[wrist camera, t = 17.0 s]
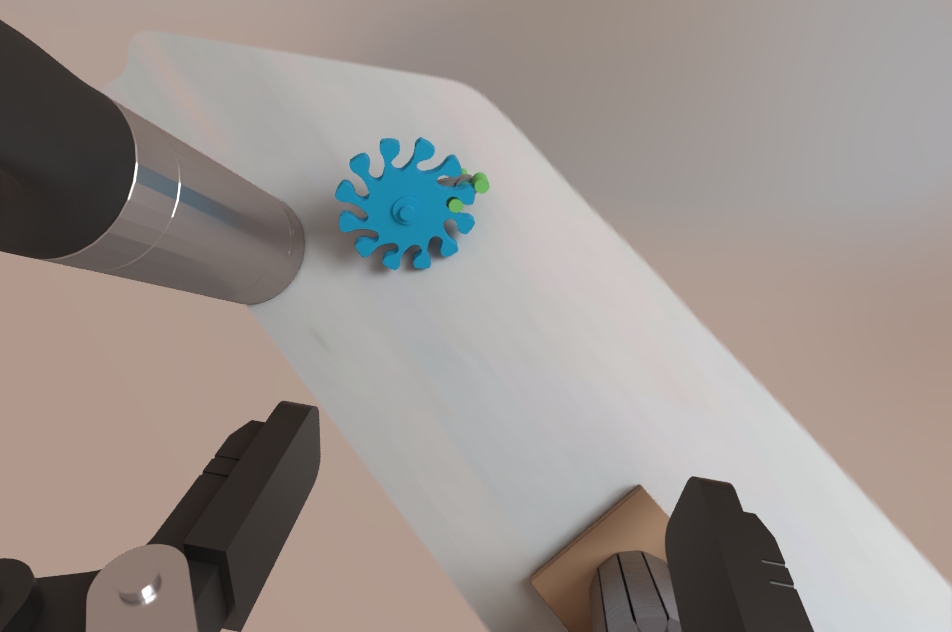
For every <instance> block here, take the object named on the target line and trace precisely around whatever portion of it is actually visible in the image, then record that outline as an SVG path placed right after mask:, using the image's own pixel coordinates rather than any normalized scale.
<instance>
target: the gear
mask: <svg viewBox="0 0 952 632" xmlns="http://www.w3.org/2000/svg"><path fill="white" fill-rule="evenodd" d="M399 151H400V144H399V141H398V140H396V139H391V138H386V139H381V141H380V152H381V154H382V156H383V158H384V162H385V167H384V171H383V174H382V176H380V177H378V178H374V177H372V176H371V175H370V174H369V172H368V170H369V165H370V159H369V157H368V155H367V154H366V153H361V154H358V155H356V156H354V157H353V158H352V159H350V163H349V164H350V168H351V170H352V171H353V172H354V173H356V174H357V175H359V176H360V177H361V178H362V179H363V180H364V182H365V184H366V186H367V188H368V191H369V194H368V195H367V196H364V197H362V196H359V195H357V194H356V192H355V189H354V186H353V184H352V183H351V182H350V181H348V180H343V181H341V183H340V184H339V186H338V188H337V190H336V194H335V197H336V199H338V200H339V201H341V202H349V203H353V204H355V205H357V206H359V207H360V208H361V209H363V210H364V211H365V212H366V213H367V215H368V216H367V217H366V218H364V219H360V218H358V217H356V216H355V215H354V214H353V213H352V212H350V211H342V212H341V214H340V219H339V225H340V230H341V231H342V232H350V231H352V230H355V229H369V230H373V231H376V232H377V233H378V234H379V235H378V236H377V237H376V238H370V237H365V236H362V237H359V238H357V240H356V244H355V246H356V249H357V251H358V252H359V253H360V254H361V256H362V257H367V256H369V255H370V254H371V253H372V252H373V251H374V250H375V249H376V248H377V247H379V246H381V245H384V244H387V243H395V244H397V245H398V247H397V248H396V249H394V250H390V251H387V252H385V253H384V255H383V264H384V265H385V266H386V267H388V268H390V269H393V270H396V269H398V268H399V266H400V260H401V256H402V254H403V253H404V252H405V251H406V250H407V249H408V248H409V247H410V246H412V245H418V246H420V247H421V249H420V250H419V251H418V252H416V253H415V255H414V257H413V261H414V267H415V268H429V267H430V265H431V259H430V255H429V253H428V251H427V247H428V243H429V240H430V239H431V238H432V237H434V236H439V237H441V238H442V240H441V243H440V249H441V253H442V255H443V256H444V257H447V256H450V255H452V254H454V253H456V252H457V251H458V247H457V242H456V241H455V240H454V239H453V238H451V237H450V236H449V235H448V234H447V233H446V231H445V229H444V226H443V223H444V221H445V220H447V219H453V220H455V221H456V223H457V227H458V230H459V231H460V232H461V233H463V234H467V233H468V232H469V231H470V230H471V229H472V227H473V225H474V224H475V222H474V218H473V216H472V215H470V214H468V213H460V211H461V210H462V208H463V204H466V205H471V204H473V202H474V199H475V194H476V192H478V193H485V192H487V191H488V189H489V183H488V180H487V178H486V175H485V174H483V173H476V174H475V175H474V176H471V175H469V174H467V171H466V170H465V169H461V166H460V163H459V161H458V159H457V158H456V156H455V155H449V156H448V157H446V159H445V160H444V161H443V162H442V164H440V165H439V166H438V167H436V168H434V169H431V170H426V171H421V170H419V169H418V168H417V167H416V166H417V164H418V163H419V162H420V161H423V160H427V159H430V158H431V157H432V156H433V155H434V152H435V149H434V146H433V145H432V144H431V143H430V142H429V141H427V140H425V139H423V138H421V137H420V138H418V139H417V141H416V142H415V149H414V153H413V156H412V158H411V159H410V161H409V162H408V163H407V164H406V165H405V166H403V167H402V168H395V167H394V166H393V165H392V164H391V162H392V160H393V159H394V158H395V157H396V156H397V155H398V154H399ZM442 175H446V176H450V177H449V178H445V179H440V180H437V179H438V177H440V176H442ZM446 202H448V204H447V203H446Z"/></svg>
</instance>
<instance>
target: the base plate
mask: <svg viewBox="0 0 952 632" xmlns="http://www.w3.org/2000/svg"><path fill="white" fill-rule="evenodd" d="M669 519H670V518H669V517H668V515H667V514H666V513H665V512H664V511H663V510H662V509H661V507H660V506H659V505H658V504H657V503H656V502H655V501H654V500H653V498H652V497H651V496H650V495H649V494H648V493H647V492H646V490H645V489H644V488H643V487H642V486H641V485H639V486H638V487H636V488H635V489H634V490H633V491H632V492H630V493H629V494H628V495H627V496H626V497H625V498H623V499H622V500H621V501H620V502H619V503H617V504H616V505H615V506H614V507H613V508H612V509H610V510H609V511H608V512H607V513H606V514H604V515H603V516H602V517H601V518H600V519H599V520H597V521H596V522H595V523H594V524H593V525H591V526H590V527H589V528H588V529H587V530H586V531H584V532H583V533H582V534H581V535H580V536H578V537H577V538H576V539H575V540H574V541H573V542H571V543H570V544H569V545H568V546H567V547H565V548H564V549H563V550H562V551H561V552H560V553H558V554H557V555H556V556H555V557H554V558H552V559H551V560H550V561H549V562H548V563H547V564H545V565H544V566H543V567H542V568H541V569H539V570H538V571H537V572H536V573H535V574H533V575H532V577H531V584H532V585H533V586H534V587H535V589H536V590H537V591H538V593H539V594H540V595H541V596H542V598H543V599H544V600H545V601H546V603H547V604H548V605H549V606H550V608H551V609H552V610H553V611H554V613H555V614H556V615H557V616H558V618H559V619H560V620H561V622H562V623H563V624H564V625H565V627H566V628H567V629H568V630H569V632H593V631H592V619H591V607H590V595H589V590H590V589H589V587H590V585H591V582H592V580H593V577H594V574H595V572H596V569H597V568H599V565H600V564H601V563H603V562H604V561H605V560H607V559H608V558H609V557H611V556H612V555H613V554H615V553H616V554H617V555H618V552H624V551H636V550H640V551H641V554H642V551H645V552H647V553H649V554H651V555H653V556H655V557H658V558H660V559H662V560H664V561H665V562H666V563H667V558H666V553H665V533H666V527H667V524H668V521H669ZM618 556H619V555H618ZM667 564H668V563H667Z"/></svg>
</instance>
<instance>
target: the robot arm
mask: <svg viewBox="0 0 952 632" xmlns="http://www.w3.org/2000/svg"><path fill="white" fill-rule="evenodd" d="M0 251H2V252H6V253H11V254H15V255H20V256H25V257H30V258H34V259H39V260H44V261H48V262H53V263H57V264H63V265H67V266H71V267H76V268H81V269H86V270H91V271H95V272H100V273H104V274H109V275H114V276H118V277H123V278H128V279H132V280H137V281H141V282H146V283H150V284H155V285H159V286H164V287H169V288H173V289H177V290H182V291H187V292H191V293H196V294H200V295H204V296H208V297H213V298H217V299H222V300H226V301H231V302H236V303H241V304H255V303H262V302H264V301H267V300H269V299H272V298H273V297H275V296H276V295H278V294H279V293H281V292H282V291H283V290H284V289H285V288H286V287H287V286H288V285H289V284H290V283H291V282H292V280H293V279H294V277H295V276H296V274H297V272H298V270H299V268H300V265H301V263H302V258H303V254H304V236H303V231H302V227H301V225H300V222H299V220H298V218H297V216H296V215H295V214H294V212H293V211H292V210H291V209H290V208H289V207H288V206H287V205H286V204H285V203H283V202H282V201H280V200H279V199H277V198H275V197H274V196H272V195H270V194H269V193H267V192H265V191H264V190H262V189H260V188H259V187H257V186H256V185H254V184H252V183H251V182H249V181H247V180H246V179H244V178H242V177H241V176H239V175H237V174H236V173H234V172H232V171H231V170H229V169H227V168H226V167H224V166H222V165H221V164H219V163H217V162H216V161H214V160H212V159H211V158H209V157H208V156H206V155H204V154H203V153H201V152H199V151H198V150H196V149H194V148H193V147H191V146H189V145H188V144H186V143H184V142H183V141H181V140H179V139H178V138H176V137H174V136H173V135H171V134H169V133H168V132H166V131H164V130H163V129H161V128H159V127H158V126H156V125H154V124H153V123H151V122H149V121H148V120H146V119H144V118H142V117H141V116H139V115H137V114H136V113H134V112H132V111H131V110H129V109H127V108H126V107H124V106H122V105H121V104H119V103H117V102H116V101H114V100H112V99H111V98H109V97H107V96H106V95H104V94H102V93H101V92H99V91H98V90H96V89H94V88H92V87H91V86H89V85H88V84H86V83H85V82H83V81H82V80H80V79H79V78H78V77H77V76H75V75H74V74H72V73H71V72H70V71H69V70H68V69H66V68H65V67H64V66H63V65H61V64H60V63H59V62H58V61H56V60H55V59H54V58H53V57H51V56H50V55H49V54H48V53H46V52H45V51H44V50H43V49H41V48H40V47H39V46H37V45H36V44H35V43H34V42H32V41H31V40H29V39H28V38H27V37H25V36H24V35H22V34H21V33H20V32H18V31H16V30H15V29H14V28H12V27H11V26H9V25H7V24H6V23H4V22H3V21H1V20H0ZM319 465H320V427H319V410H318V408H317V407H316V406H310V405H305V404H299V403H293V402H288V401H281V402H280V403H279V404H278V405H277V406H276V408H275V409H274V411H273V412H272V413H271V415H270V416H269V418H268V419H267V421H266V422H259V421H254V420H251V421H250V422H248V423H247V424H245V425H244V426H243V427H241V428H240V429H238V430H237V431H235V432H234V433H232V434H231V435H230V436H229V437H228V438H227V440H226V441H225V442H224V444H223V445H222V446H221V448H220V449H219V450H218V452H217V453H216V454H215V458H214V459H212V460H211V461H210V462H209V464H208V465H207V466H206V468H205V469H204V470H203V474H202V475H200V476H199V477H198V478H197V480H196V481H195V482H194V484H193V485H192V486H191V488H190V489H189V490H188V492H187V493H186V494H185V496H184V497H183V498H182V500H181V501H180V502H179V504H178V505H177V506H176V508H175V509H174V510H173V512H172V513H171V514H170V516H169V517H168V518H167V520H166V521H165V522H164V524H163V525H162V526H161V528H160V529H159V530H158V532H157V533H156V534H155V536H154V537H153V538H152V539H151V540H150V541H149V542H148V543H147V544H146V545H145V546H141V547H137V548H134V549H132V550H129V551H127V552H125V553H123V554H121V555H120V556H118V557H117V558H115V559H114V560H112V561H111V562H110V563H108V564H107V565H106V566H105V567H104V568H103V569H101V570H98V571H92V572H86V573H77V574H69V575H60V576H52V577H42V578H35V577H34V575H33V573H32V571H31V569H30V567H29V566H28V565H26V564H25V563H23V562H21V561H19V560H15V559H7V558H3V559H0V632H220V631H221V629H222V628H223V629H228V630H233V631H238V632H241V630H242V628H243V626H244V624H245V622H246V620H247V618H248V616H249V614H250V612H251V610H252V608H253V606H254V604H255V602H256V600H257V598H258V596H259V594H260V592H261V590H262V588H263V586H264V584H265V582H266V580H267V578H268V576H269V574H270V572H271V570H272V568H273V566H274V564H275V562H276V560H277V558H278V556H279V554H280V552H281V550H282V548H283V546H284V544H285V542H286V540H287V538H288V536H289V534H290V532H291V530H292V528H293V526H294V524H295V522H296V520H297V518H298V516H299V514H300V511H301V510H302V508H303V506H304V504H305V501H306V500H307V498H308V496H309V493H310V492H311V490H312V487H313V485H314V483H315V480H316V477H317V474H318V470H319ZM665 553H666V558H667V563H668V568H669V572H670V577H671V582H672V587H673V592H674V597H675V601H676V606H677V611H678V616H679V621H680V625H681V630H682V632H814V630H813V628H812V626H811V623H810V621H809V618H808V616H807V614H806V611H805V609H804V607H803V604H802V602H801V599H800V597H799V595H798V592H797V590H796V589H794V583H793V580H792V578H791V575H790V573H789V571H788V568H785V561H784V559H783V556H782V554H781V552H780V549H779V547H778V544H777V542H776V540H775V537H774V536H773V535H772V534H771V533H770V531H769V530H768V529H767V528H766V526H765V525H764V524H763V523H762V522H761V520H760V519H759V518H758V517H757V515H756V514H753V513H748V512H743V509H742V507H741V504H740V501H739V499H738V496H737V493H736V491H735V489H734V487H733V485H731V484H730V483H728V482H722V481H717V480H711V479H705V478H700V477H694V476H693V477H691V478H689V480H688V481H687V483H686V485H685V487H684V490H683V492H682V494H681V496H680V498H679V500H678V502H677V504H676V506H675V509H674V511H673V513H672V515H671V517H670V519H669V521H668V524H667V527H666V533H665Z"/></svg>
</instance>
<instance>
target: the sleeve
mask: <svg viewBox="0 0 952 632" xmlns="http://www.w3.org/2000/svg"><path fill="white" fill-rule="evenodd" d="M618 555H619V556H618ZM618 555H617V554H616V553H615V554H613V555H612V556H611V557H609V558H608V559H607V560H605V561H604V562H603V563H601V564H600V565H599V568H597V569H596V572H595V574H594V577H593V580H592V582H591V585H590V587H589V589H590V590H589V595H590V607H591V619H592V631H593V632H682V630H681V625H680V621H679V616H678V611H677V606H676V601H675V597H674V592H673V587H672V582H671V577H670V572H669V568H668V564H667V563H666V562H665V561H664V560H662V559H660V558H658V557H655V556H653V555H651V554H649V553H647V552H645V551H642V554H641V551H640V550H636V551H624V552H618Z"/></svg>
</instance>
